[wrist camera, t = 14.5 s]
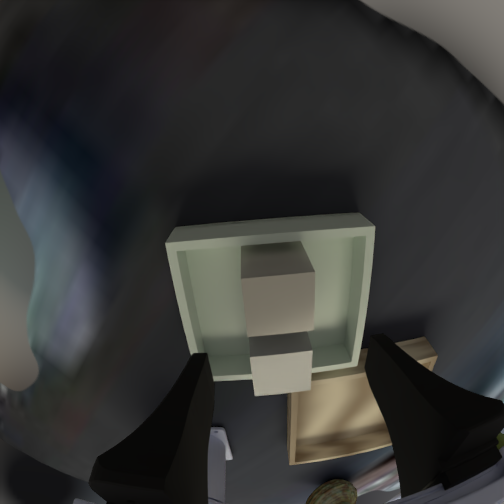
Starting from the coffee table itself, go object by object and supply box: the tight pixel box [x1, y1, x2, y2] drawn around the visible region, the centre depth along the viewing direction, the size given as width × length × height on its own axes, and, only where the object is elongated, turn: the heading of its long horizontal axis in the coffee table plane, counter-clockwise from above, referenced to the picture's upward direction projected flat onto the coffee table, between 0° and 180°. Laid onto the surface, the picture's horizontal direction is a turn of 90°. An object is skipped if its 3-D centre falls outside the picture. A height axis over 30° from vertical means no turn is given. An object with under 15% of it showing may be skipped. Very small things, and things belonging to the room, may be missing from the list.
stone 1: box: [241, 241, 315, 337], centre depth 19 cm, size 4×4×5 cm
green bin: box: [165, 213, 375, 381], centre depth 22 cm, size 13×12×3 cm
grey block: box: [249, 331, 313, 396], centre depth 22 cm, size 4×4×5 cm
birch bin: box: [287, 336, 438, 465], centre depth 28 cm, size 14×16×3 cm
